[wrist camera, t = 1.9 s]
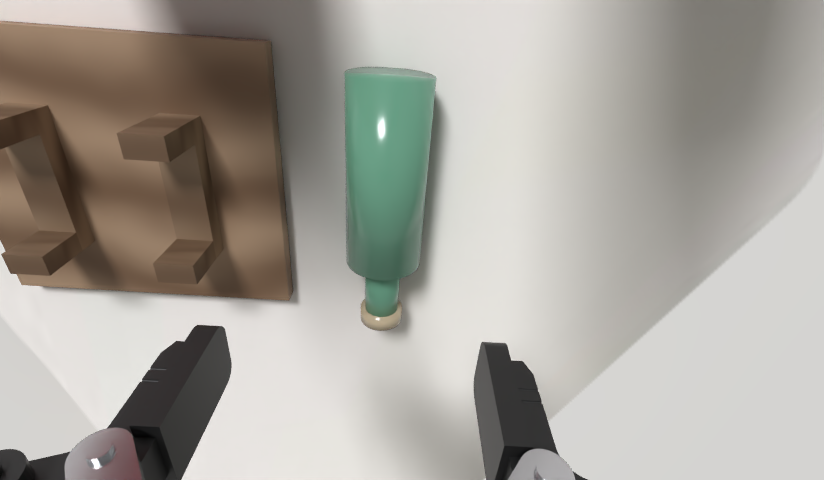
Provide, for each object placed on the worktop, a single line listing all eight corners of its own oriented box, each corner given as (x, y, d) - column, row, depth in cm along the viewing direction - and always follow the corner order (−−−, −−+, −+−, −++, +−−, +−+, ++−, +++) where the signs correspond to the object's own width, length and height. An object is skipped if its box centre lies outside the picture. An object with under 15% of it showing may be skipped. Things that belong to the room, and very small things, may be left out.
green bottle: (348, 64, 26) (339, 79, 21) (432, 70, 26) (440, 86, 22) (350, 295, 34) (344, 339, 30) (413, 297, 34) (416, 341, 30)
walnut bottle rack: (-85, 14, 24) (-206, 20, 20) (270, 40, 25) (236, 52, 20) (34, 275, 33) (-30, 322, 29) (293, 291, 34) (272, 340, 29)
